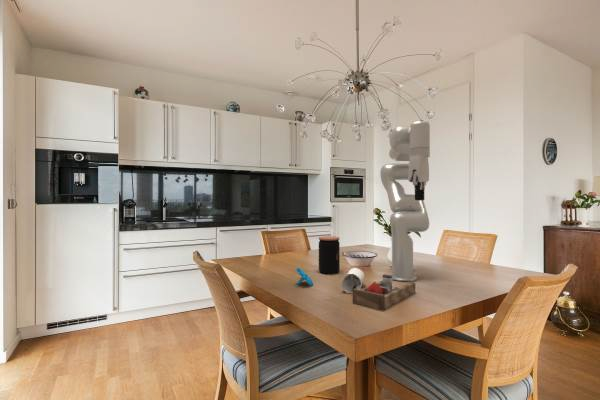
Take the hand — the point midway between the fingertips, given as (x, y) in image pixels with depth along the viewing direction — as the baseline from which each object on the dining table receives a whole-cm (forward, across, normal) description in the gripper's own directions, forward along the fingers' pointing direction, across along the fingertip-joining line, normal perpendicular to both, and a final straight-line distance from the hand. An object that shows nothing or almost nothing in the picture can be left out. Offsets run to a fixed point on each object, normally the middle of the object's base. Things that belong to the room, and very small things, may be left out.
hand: (419, 200), depth 129 cm
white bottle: (+37, +9, -25) cm, 46 cm away
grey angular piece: (+37, +12, -8) cm, 40 cm away
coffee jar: (+37, -8, -50) cm, 63 cm away
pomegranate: (+37, +22, -8) cm, 44 cm away
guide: (+37, +13, -8) cm, 40 cm away
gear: (+37, +18, -44) cm, 60 cm away
